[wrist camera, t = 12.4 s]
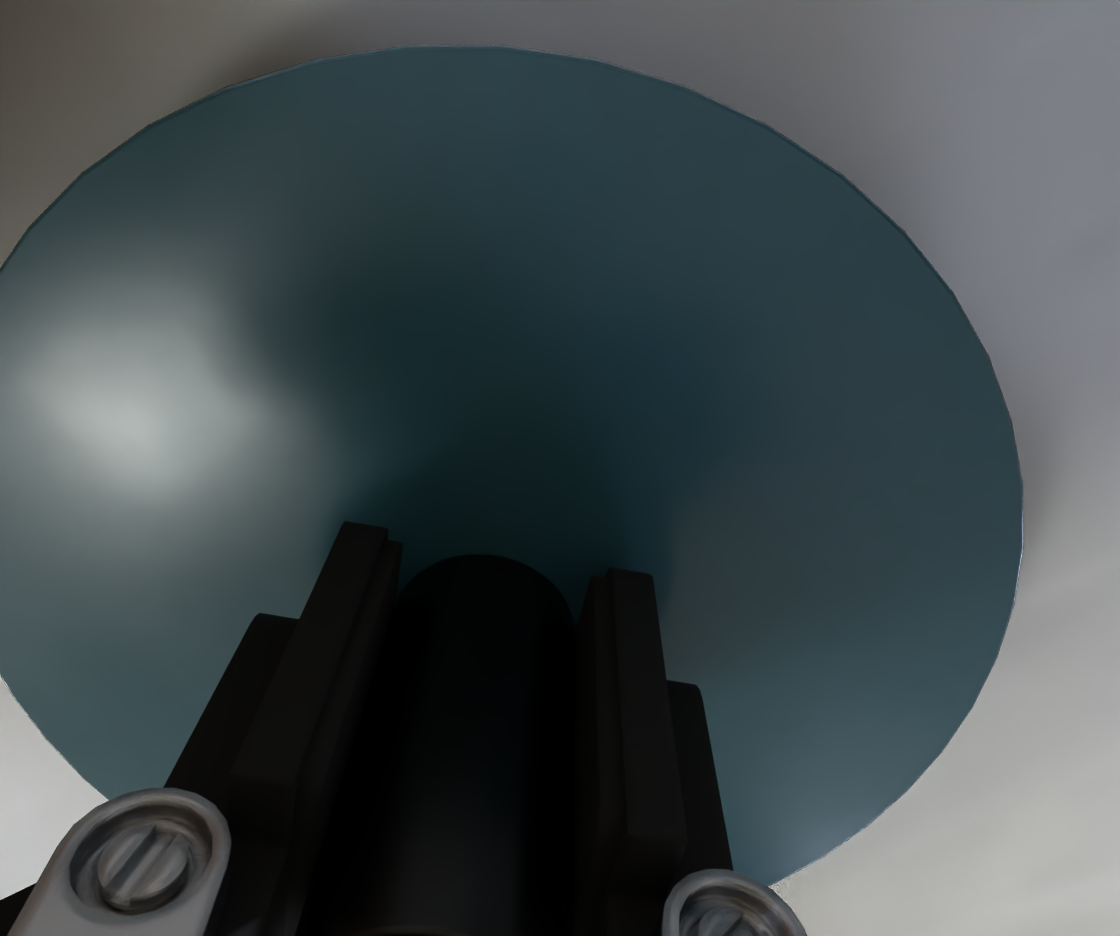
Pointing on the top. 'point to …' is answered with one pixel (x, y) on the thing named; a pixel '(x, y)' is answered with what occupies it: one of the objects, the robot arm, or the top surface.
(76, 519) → the pot lid
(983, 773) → the top surface
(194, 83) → the top surface
